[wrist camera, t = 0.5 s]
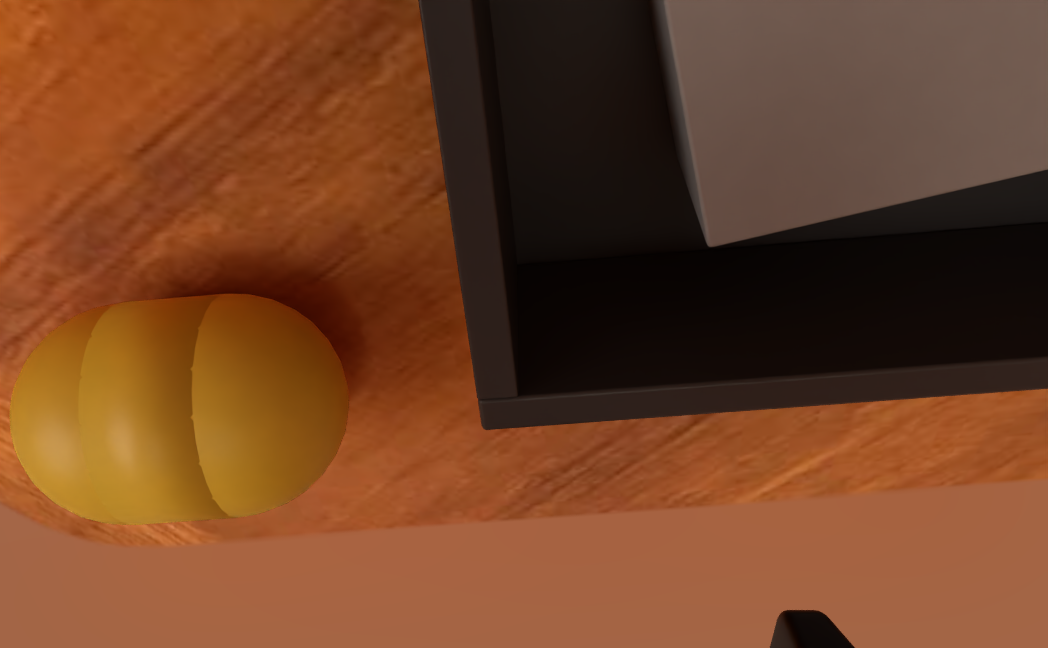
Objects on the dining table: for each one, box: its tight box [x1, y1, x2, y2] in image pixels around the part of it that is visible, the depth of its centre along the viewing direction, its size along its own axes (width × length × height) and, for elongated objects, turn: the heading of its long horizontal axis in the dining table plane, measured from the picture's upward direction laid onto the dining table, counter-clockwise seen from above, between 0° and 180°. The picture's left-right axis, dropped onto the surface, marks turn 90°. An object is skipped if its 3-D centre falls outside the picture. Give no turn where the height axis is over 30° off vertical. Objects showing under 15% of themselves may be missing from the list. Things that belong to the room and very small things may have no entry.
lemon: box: [10, 294, 349, 525], centre depth 22 cm, size 8×5×5 cm
